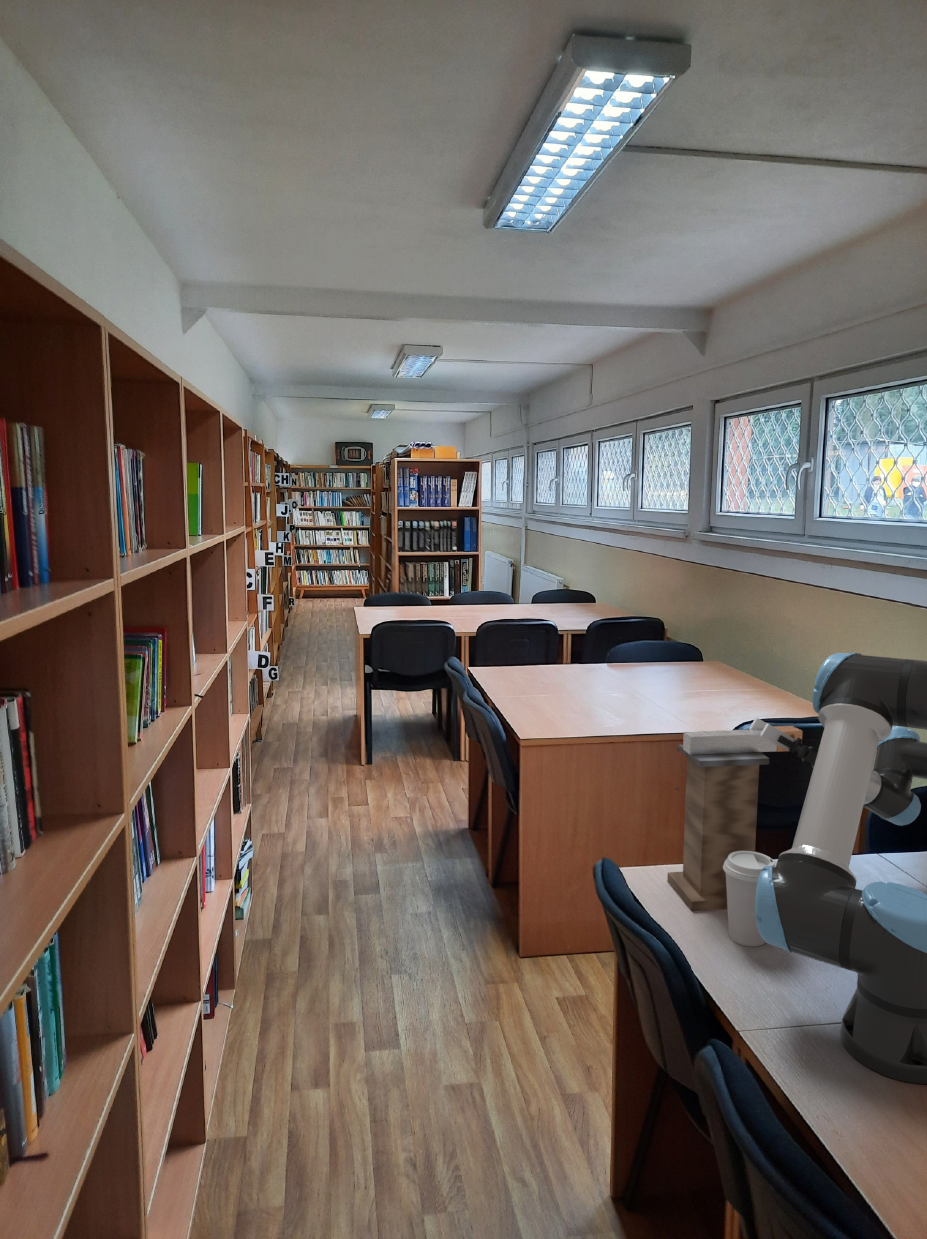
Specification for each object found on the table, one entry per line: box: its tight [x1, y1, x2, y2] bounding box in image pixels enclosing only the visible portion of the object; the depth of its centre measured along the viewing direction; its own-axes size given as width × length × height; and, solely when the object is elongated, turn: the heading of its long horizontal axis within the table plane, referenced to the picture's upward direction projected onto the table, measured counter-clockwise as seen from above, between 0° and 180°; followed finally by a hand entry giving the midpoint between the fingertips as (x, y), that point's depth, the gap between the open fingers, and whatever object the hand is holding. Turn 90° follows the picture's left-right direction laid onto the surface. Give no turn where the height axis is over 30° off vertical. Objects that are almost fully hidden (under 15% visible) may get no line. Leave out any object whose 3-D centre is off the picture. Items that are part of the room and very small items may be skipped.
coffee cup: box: [723, 851, 776, 947], centre depth 152 cm, size 10×10×15 cm
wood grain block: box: [682, 725, 804, 755], centre depth 166 cm, size 23×4×4 cm, turn 97°
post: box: [667, 744, 770, 912], centre depth 168 cm, size 16×13×30 cm
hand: (758, 726), depth 166 cm, fingers closed on wood grain block, 4 cm apart
